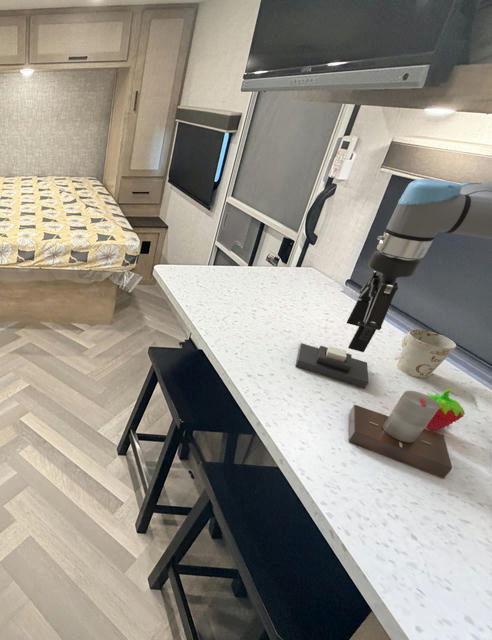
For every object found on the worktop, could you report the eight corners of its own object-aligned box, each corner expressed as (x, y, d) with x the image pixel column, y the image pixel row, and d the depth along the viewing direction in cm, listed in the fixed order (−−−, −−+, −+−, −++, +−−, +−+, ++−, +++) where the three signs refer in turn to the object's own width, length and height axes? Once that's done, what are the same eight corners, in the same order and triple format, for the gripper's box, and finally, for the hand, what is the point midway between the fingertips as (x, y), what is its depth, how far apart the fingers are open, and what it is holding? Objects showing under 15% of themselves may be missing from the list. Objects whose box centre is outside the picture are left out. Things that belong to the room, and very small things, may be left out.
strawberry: (397, 412, 89) (419, 377, 85) (439, 421, 87) (465, 385, 82) (410, 430, 85) (434, 394, 80) (455, 440, 82) (483, 404, 77)
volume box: (435, 445, 81) (444, 434, 80) (443, 478, 74) (453, 467, 73) (348, 414, 89) (354, 403, 87) (348, 441, 82) (354, 430, 81)
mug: (401, 377, 100) (421, 344, 95) (375, 349, 111) (392, 319, 106) (443, 383, 98) (465, 350, 93) (412, 354, 108) (431, 323, 104)
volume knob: (382, 420, 83) (403, 385, 79) (414, 431, 80) (438, 396, 76) (383, 434, 80) (405, 399, 75) (417, 447, 77) (442, 411, 73)
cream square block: (343, 356, 102) (346, 350, 101) (343, 362, 100) (346, 357, 99) (326, 351, 104) (328, 345, 103) (325, 357, 102) (328, 352, 101)
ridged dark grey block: (363, 369, 103) (370, 356, 101) (364, 389, 96) (371, 376, 94) (298, 349, 111) (303, 337, 109) (295, 366, 104) (300, 354, 102)
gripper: (370, 235, 96) (334, 310, 106) (379, 268, 78) (335, 355, 88) (413, 242, 92) (371, 319, 102) (432, 278, 74) (379, 368, 84)
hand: (354, 336), depth 95 cm, fingers open, 13 cm apart
